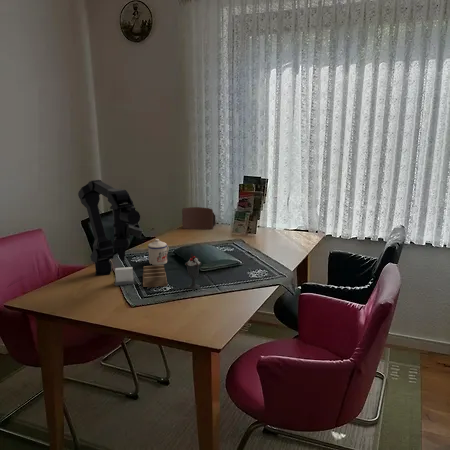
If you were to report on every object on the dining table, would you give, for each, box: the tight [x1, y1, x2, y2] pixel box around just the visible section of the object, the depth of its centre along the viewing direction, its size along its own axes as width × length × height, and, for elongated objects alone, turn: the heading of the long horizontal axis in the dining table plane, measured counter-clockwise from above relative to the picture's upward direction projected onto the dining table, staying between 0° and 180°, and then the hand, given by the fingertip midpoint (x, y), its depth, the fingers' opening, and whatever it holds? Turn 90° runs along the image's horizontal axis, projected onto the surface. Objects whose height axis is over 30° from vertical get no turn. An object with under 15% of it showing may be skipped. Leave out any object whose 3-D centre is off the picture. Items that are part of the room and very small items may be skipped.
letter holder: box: [181, 206, 217, 230], centre depth 273 cm, size 10×20×14 cm, turn 81°
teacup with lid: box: [147, 238, 169, 266], centre depth 206 cm, size 12×9×12 cm
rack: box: [142, 264, 169, 288], centre depth 182 cm, size 10×15×4 cm, turn 11°
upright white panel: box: [114, 266, 134, 282], centre depth 180 cm, size 7×2×6 cm, turn 101°
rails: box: [114, 277, 136, 286], centre depth 180 cm, size 8×5×1 cm, turn 101°
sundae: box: [184, 254, 202, 290], centre depth 173 cm, size 7×7×15 cm
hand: (123, 257), depth 178 cm, fingers open, 9 cm apart
